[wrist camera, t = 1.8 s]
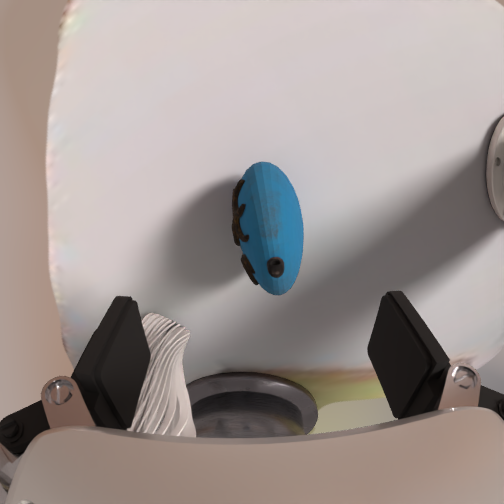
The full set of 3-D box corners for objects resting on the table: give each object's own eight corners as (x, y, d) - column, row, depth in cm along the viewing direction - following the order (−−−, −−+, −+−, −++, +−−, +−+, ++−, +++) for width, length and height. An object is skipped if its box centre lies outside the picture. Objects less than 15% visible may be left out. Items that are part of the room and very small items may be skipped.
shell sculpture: (120, 340, 30) (62, 485, 13) (140, 287, 26) (59, 462, 10) (187, 371, 31) (161, 521, 15) (219, 324, 28) (198, 510, 12)
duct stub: (328, 369, 31) (348, 457, 21) (306, 443, 40) (313, 505, 29) (159, 368, 31) (136, 454, 21) (186, 442, 40) (177, 504, 29)
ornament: (226, 159, 21) (206, 196, 12) (288, 150, 21) (316, 180, 12) (244, 259, 25) (240, 343, 16) (299, 251, 25) (323, 332, 16)
